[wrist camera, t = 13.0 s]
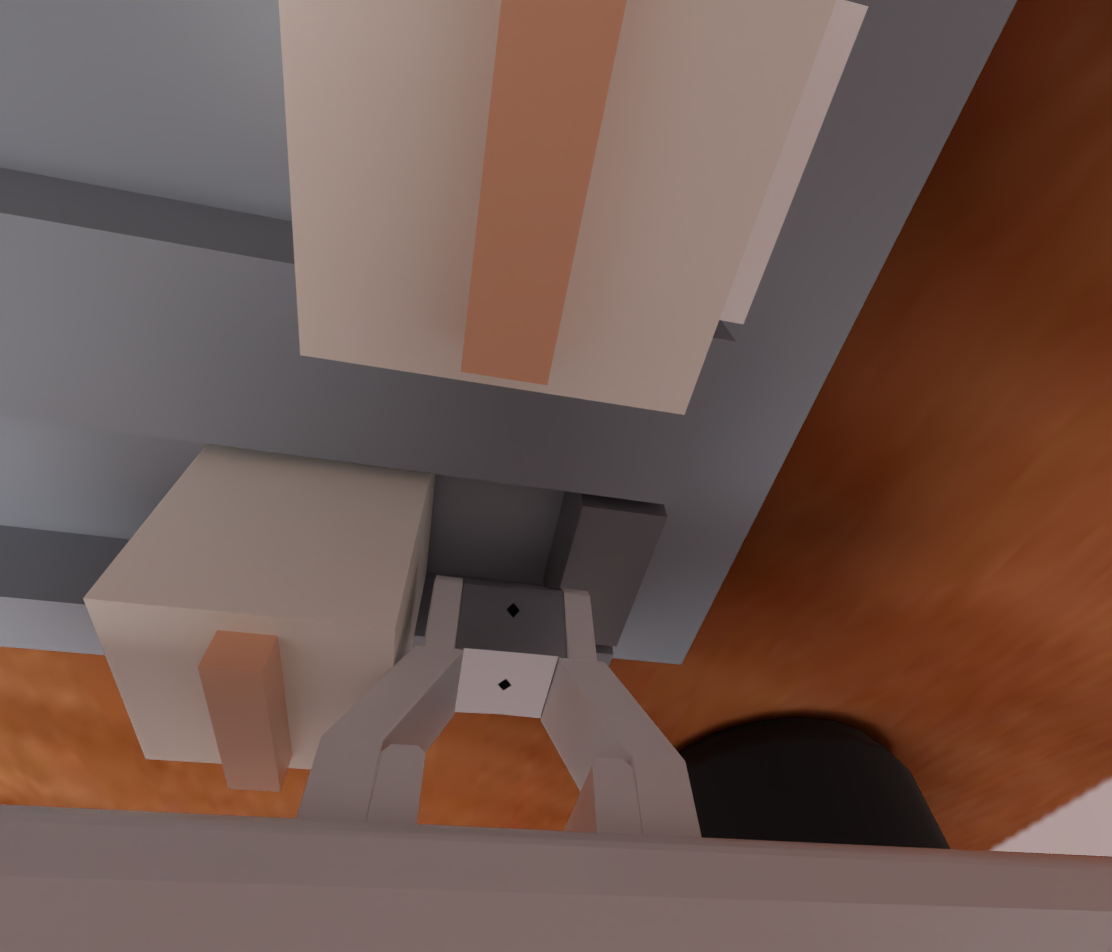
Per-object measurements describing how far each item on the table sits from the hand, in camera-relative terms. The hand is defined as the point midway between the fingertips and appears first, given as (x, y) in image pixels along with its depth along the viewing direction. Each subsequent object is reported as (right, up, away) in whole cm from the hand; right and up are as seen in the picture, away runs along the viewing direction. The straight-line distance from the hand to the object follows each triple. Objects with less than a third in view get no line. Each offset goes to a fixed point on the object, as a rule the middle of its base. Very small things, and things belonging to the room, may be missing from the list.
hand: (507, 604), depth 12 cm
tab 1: (-4, +2, +2) cm, 5 cm away
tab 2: (+1, +8, -2) cm, 8 cm away
